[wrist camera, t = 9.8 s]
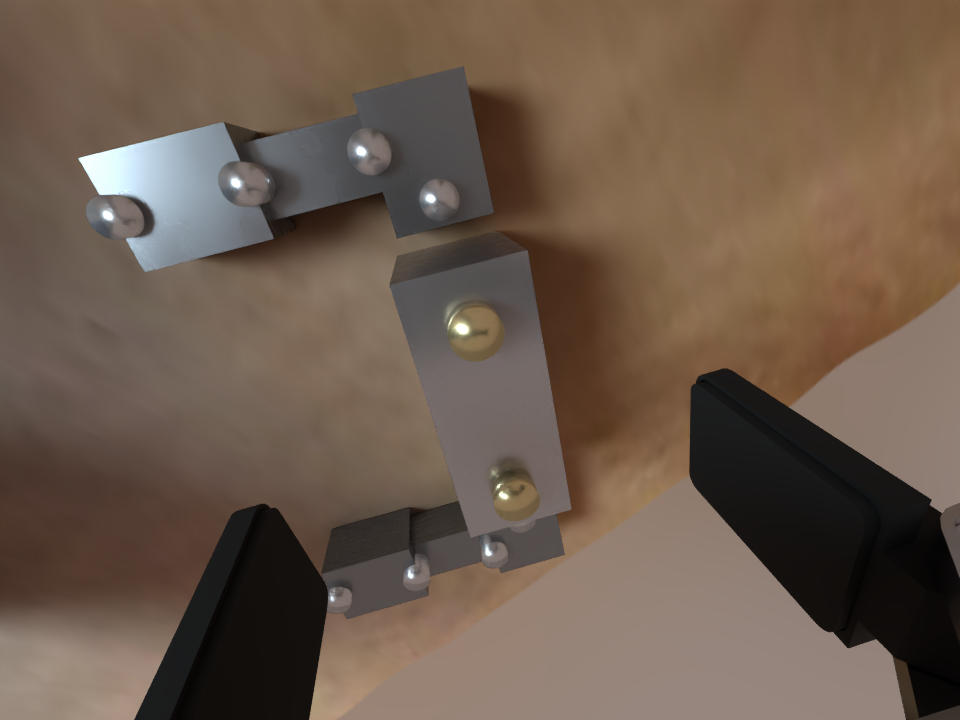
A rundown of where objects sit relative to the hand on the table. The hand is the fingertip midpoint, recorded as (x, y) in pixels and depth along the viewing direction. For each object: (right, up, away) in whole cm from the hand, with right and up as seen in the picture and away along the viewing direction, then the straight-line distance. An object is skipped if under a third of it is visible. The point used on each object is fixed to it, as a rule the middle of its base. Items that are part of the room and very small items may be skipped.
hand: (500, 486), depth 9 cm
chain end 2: (-3, -5, +12) cm, 13 cm away
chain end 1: (-6, +9, +5) cm, 12 cm away
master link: (-1, +3, +9) cm, 10 cm away
